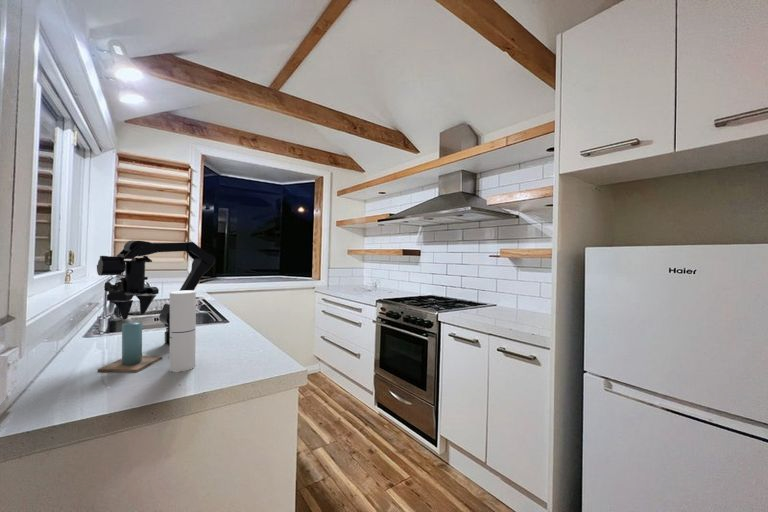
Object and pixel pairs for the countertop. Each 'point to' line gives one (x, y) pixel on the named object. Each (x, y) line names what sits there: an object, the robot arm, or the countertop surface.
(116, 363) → the walnut board
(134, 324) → the cylinder
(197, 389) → the countertop surface
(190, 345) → the cylindrical container
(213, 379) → the countertop surface
